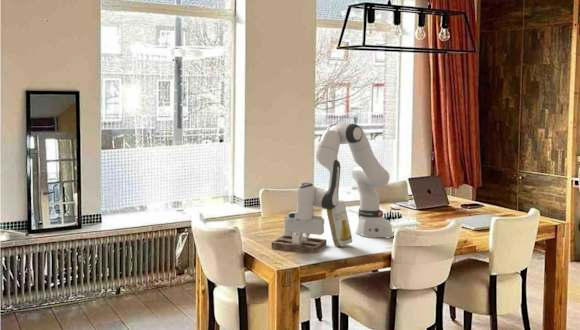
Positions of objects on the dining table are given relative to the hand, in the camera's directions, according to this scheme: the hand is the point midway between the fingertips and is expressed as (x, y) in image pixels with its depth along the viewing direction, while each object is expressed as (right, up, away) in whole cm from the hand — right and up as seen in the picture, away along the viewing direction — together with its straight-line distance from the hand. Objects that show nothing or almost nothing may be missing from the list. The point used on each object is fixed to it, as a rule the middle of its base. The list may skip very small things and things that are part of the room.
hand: (304, 241), depth 330 cm
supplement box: (-5, -1, +24) cm, 25 cm away
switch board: (-2, -4, +7) cm, 8 cm away
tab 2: (-4, -3, +2) cm, 5 cm away
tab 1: (-4, -2, +12) cm, 13 cm away
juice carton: (+21, -3, +9) cm, 23 cm away
